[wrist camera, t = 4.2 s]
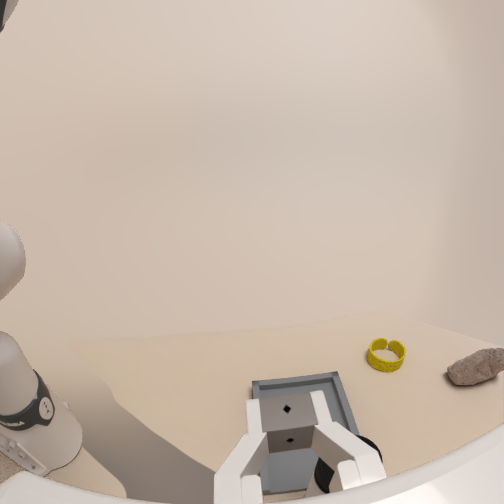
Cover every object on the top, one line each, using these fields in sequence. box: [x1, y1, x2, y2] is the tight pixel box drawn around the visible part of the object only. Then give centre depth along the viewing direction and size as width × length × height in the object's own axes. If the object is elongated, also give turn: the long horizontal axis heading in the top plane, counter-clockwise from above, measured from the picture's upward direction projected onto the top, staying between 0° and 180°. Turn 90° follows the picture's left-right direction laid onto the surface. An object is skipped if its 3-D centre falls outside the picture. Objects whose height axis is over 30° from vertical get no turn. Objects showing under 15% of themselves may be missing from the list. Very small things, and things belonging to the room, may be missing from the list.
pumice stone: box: [447, 348, 504, 385], centre depth 44 cm, size 15×8×10 cm, turn 81°
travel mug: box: [304, 435, 382, 498], centre depth 25 cm, size 6×7×20 cm
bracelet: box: [367, 338, 406, 373], centre depth 55 cm, size 7×8×3 cm
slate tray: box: [252, 371, 360, 495], centre depth 42 cm, size 16×22×2 cm
